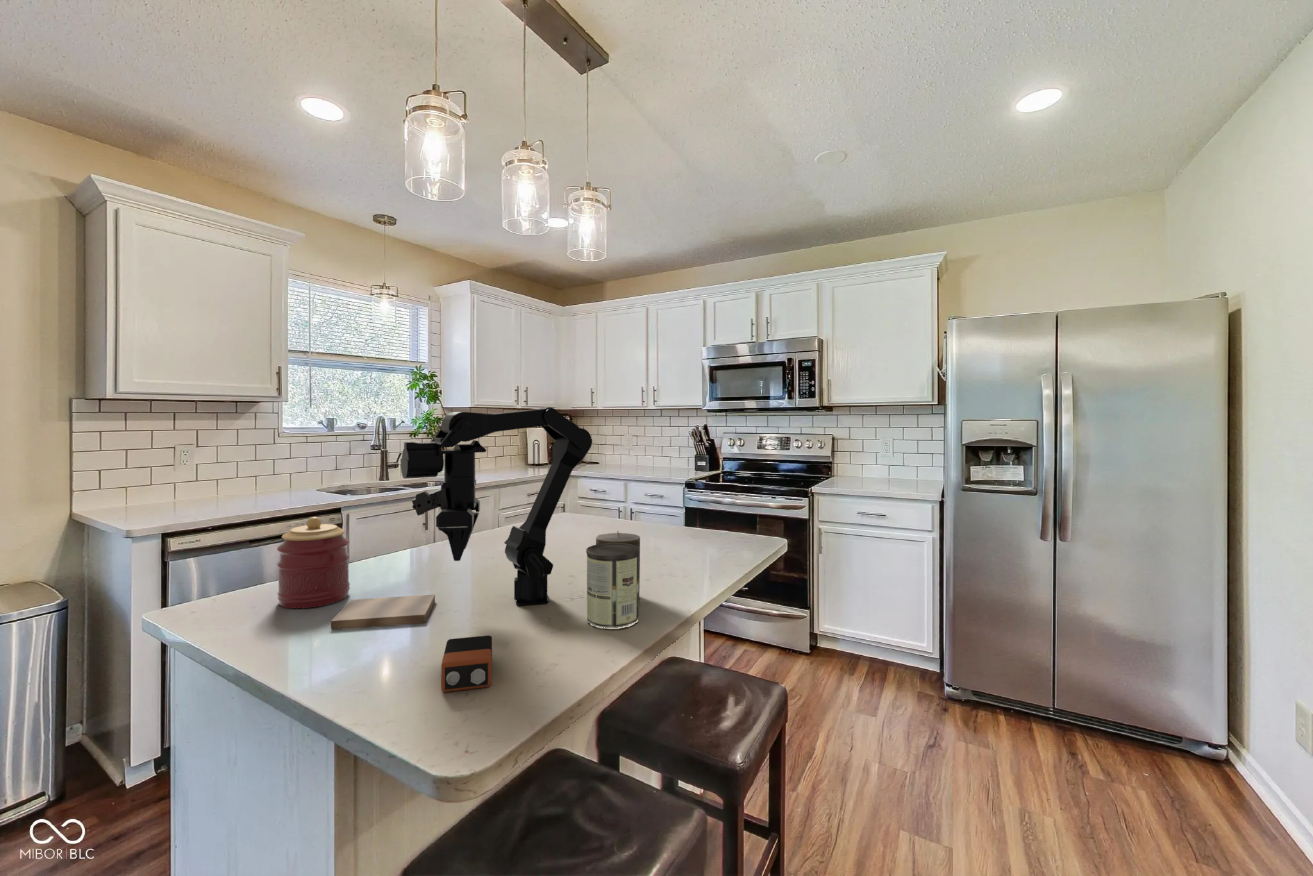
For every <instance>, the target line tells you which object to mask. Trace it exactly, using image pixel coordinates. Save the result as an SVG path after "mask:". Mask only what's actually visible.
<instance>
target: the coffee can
mask: <svg viewBox="0 0 1313 876" xmlns="http://www.w3.org/2000/svg"><path fill="white" fill-rule="evenodd" d="M585 552H586V553H585V554H586V623H587V622H589V623H590V624H592V625H594V626H599V627H603V628H604V627H605V628H618V627H623V626H628V625H629V624H632V623H634V622H636V621H637V620H638V617H639V614H640V613H639V612H640V611H639V610H640V609H639V607H640V605H639V603H640V602H639V601H640V588H639V552H640V553H641V547H640V548H639V547H637V546H635V545H632V544H626V543H603V544H596V543H595V544H593V545H590V546H588V547H587V548H586V549H585ZM639 618H640V617H639Z"/></svg>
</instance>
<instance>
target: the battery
mask: <svg viewBox="0 0 1313 876" xmlns="http://www.w3.org/2000/svg"><path fill="white" fill-rule="evenodd" d="M440 666H441V668H440V669H441V671H440V672H441V673H440V674H441V675H440V677H441V680H440V681H441V684H440V686H441V689H440V690H441V692H443V693H448V692H450V693H451V692H458V691H465V690H474V689H482V688H488V687H490V686H491V685H492V677H493V676H492V675H493V674H492V670H493V637H492V635H490V634H489V635H479V636H469V637H468V636H467V637H458V638H457V637H456V638H449V639H447V641H446V644H445V649H444V652H443V657H442V661H441V665H440Z"/></svg>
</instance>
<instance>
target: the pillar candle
mask: <svg viewBox="0 0 1313 876" xmlns="http://www.w3.org/2000/svg"><path fill="white" fill-rule="evenodd" d="M603 543H626V544H632V545H635V546H637V547H639V548H640V549H641V537H640V535H638V534H634V533H627V532H625V533H624V532H619V530H617V532H611V533H603V534H597V535H596V537H595V545H596V544H603ZM640 574H641V551H640V552H639V589H640V587H641V586H640V585H641V584H640V581H641V578H640V577H641V575H640Z"/></svg>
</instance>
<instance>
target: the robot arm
mask: <svg viewBox="0 0 1313 876" xmlns="http://www.w3.org/2000/svg"><path fill="white" fill-rule="evenodd" d="M440 427H441V428H440V429H439V430H438V432H437V433H436V435H434V437H433V438H432V439H431V440H430V442H416V441H415V442H414V441H405V442H403V449H402V453H401V458H400V472H401V476H402V478H403V479H404V480H405V479H406V480H407V479H421V478H436V477H437V476H438V474H439V473H442V472H444V473H443V474H444V475H443V476H444V477H443V479H444V481H442V483H441V484H440V488H438V489H435V490H432V491H431V492H427V491H426V490H423V491H421V492H418V493H415V494H416V495H415V497H414V498H413V499H412V500H411V502H412V509H414V510H415V513H416V515H417V516H421V515H424V514H425V513H426V512H430V511H432V510H434V509H437V508H440V510H441V511H440V512H439V513H438V514H437V515H436V516H435V527H436V528H437V529H438V531H441V532H442V533H444V535H446V536H447V539H448V542H449V546H450V551H451V555H452V558H453V561H454V562H460V561H461V559H462V556H463V554H464V551H465V550H466V548H467V546H468V544H469V540H470V539H471V535H472V533H473V530H474V527H475V525H476V522H477V520H478V517H479V515H480V510H481V501H480V500H479V499H478V498H477V497H476V485H477V479H476V454H477V453H486V452H487V449H486V448H485V447H484V446H483V445H482V444H481V442H479V441H478V439H480V438H483V437H485V436H488V435H491V434H493V433H497V432H504V431H515V430H521V429H522V430H523V429H527V428H528V429H529V428H536V427H537V428H538V427H541V428H542V429H543V430H544V431H545V433H546V434H547V436H549V437H550V438H551V439H552V440H554V443H553V447H552V462H551V465H550V466H549V469H548V471H547V474H546V475H545V478H544V480H543V483H542V485H541V487H540V488H539V491H538V493H537V495H536V498H535V500H534V502H533V504H532V507H531V508H530V511H529V513H528V515H527V518H526V519H525V521H524V522H523V523H522V525H520V526H519V527H517V526H514V525H512V527H511V529H510V532H509V535H508V538H507V539H505V541H504V544H505V545H506V546H505V548H504V553H505V556H506V559H508V561H509V562H511V563H512V566H513V568H514V569H515V570H516V571H517V574H516V576H517V577H516V576H515V577H514V580H513V590H514V591H513V592H514V593H513V594H514V595H513V596H514V597H513V598H514V600H515V601H516V602H515V603H516V606H525V605H528V606H529V605H540V604H541V605H545V604H548V603H549V597H548V575H551V574H552V571H553V568H554V564H553V562H551V561H550V560H549V559H548V558H547V557H546V556H544V552H545V549H546V545H547V544H546V543H547V542H546V541H547V540H546V539H547V537H546V536H547V529H548V526H549V524H550V521H551V520H552V517H553V515H554V512H555V510H556V508H557V505H559V502H560V500H561V497H562V494H563V492H564V491H565V487H566V486H567V483H568V481H569V479H570V477H571V474H572V472H573V470H574V469H575V468H576V467H577V466H578V465H579V464H580V463H581V462H582V461H583V460H584V459H585V457H586V456H587V454H588V453H589V451H590V449H591V447H592V444H593V438H592V436H591V433H590V432H589V431H588V430H587V429H585V428H581V427H579V426H578V425H577V424H576V423H574V422H573V421H571V420H570V419H568V418H567V417H565V416H564V415H562V414H561V413H560V412H559V411H558V410H556V408H554V407H551V406H548V407H547V406H546V407H545V406H543V407H539V408H535V409H528V410H526V409H525V410H517V411H516V410H515V411H507V412H506V411H505V412H499V413H498V412H497V413H482V412H469V411H453V412H450V413H447V414H446V415H445V417H444V418H442V420H441V425H440ZM476 439H477V440H476ZM471 441H472V442H471ZM461 442H463V443H464V442H470V443H467V444H465V443H464V444H463V443H462V444H461ZM459 443H460V444H459ZM442 448H453V449H442ZM474 511H475V512H474Z"/></svg>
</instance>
